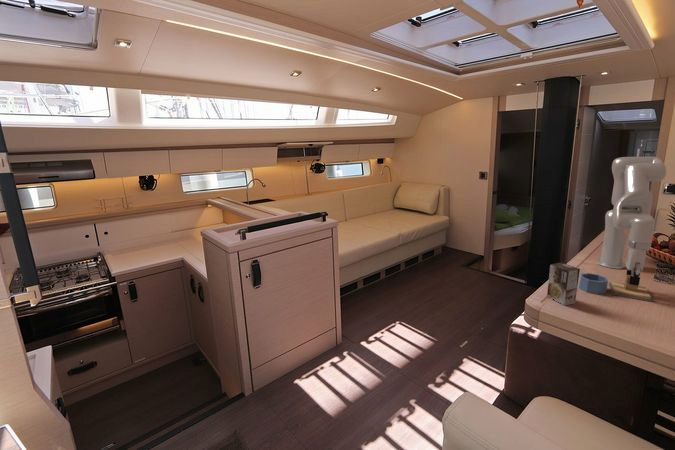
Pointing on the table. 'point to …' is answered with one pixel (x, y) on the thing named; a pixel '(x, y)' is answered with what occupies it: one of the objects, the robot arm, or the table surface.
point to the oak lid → (630, 289)
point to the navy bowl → (593, 283)
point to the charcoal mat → (629, 296)
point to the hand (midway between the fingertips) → (632, 280)
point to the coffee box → (563, 283)
